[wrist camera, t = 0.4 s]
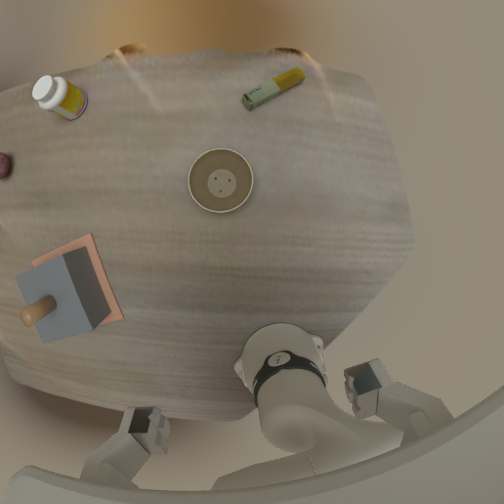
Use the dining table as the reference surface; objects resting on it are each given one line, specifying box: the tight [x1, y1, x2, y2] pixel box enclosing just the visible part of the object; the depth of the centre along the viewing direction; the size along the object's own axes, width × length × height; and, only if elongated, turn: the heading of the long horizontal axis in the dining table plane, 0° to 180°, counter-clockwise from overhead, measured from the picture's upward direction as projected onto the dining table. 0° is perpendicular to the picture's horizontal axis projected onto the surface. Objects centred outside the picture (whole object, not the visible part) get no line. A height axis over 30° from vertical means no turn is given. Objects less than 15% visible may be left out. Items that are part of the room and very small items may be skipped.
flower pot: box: [188, 148, 253, 213], centre depth 46 cm, size 10×10×7 cm
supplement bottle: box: [33, 76, 87, 120], centre depth 37 cm, size 7×7×13 cm
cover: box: [16, 246, 112, 343], centre depth 41 cm, size 14×14×17 cm
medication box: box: [242, 67, 305, 111], centre depth 45 cm, size 12×3×4 cm, turn 124°
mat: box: [32, 233, 124, 326], centre depth 50 cm, size 18×18×1 cm
